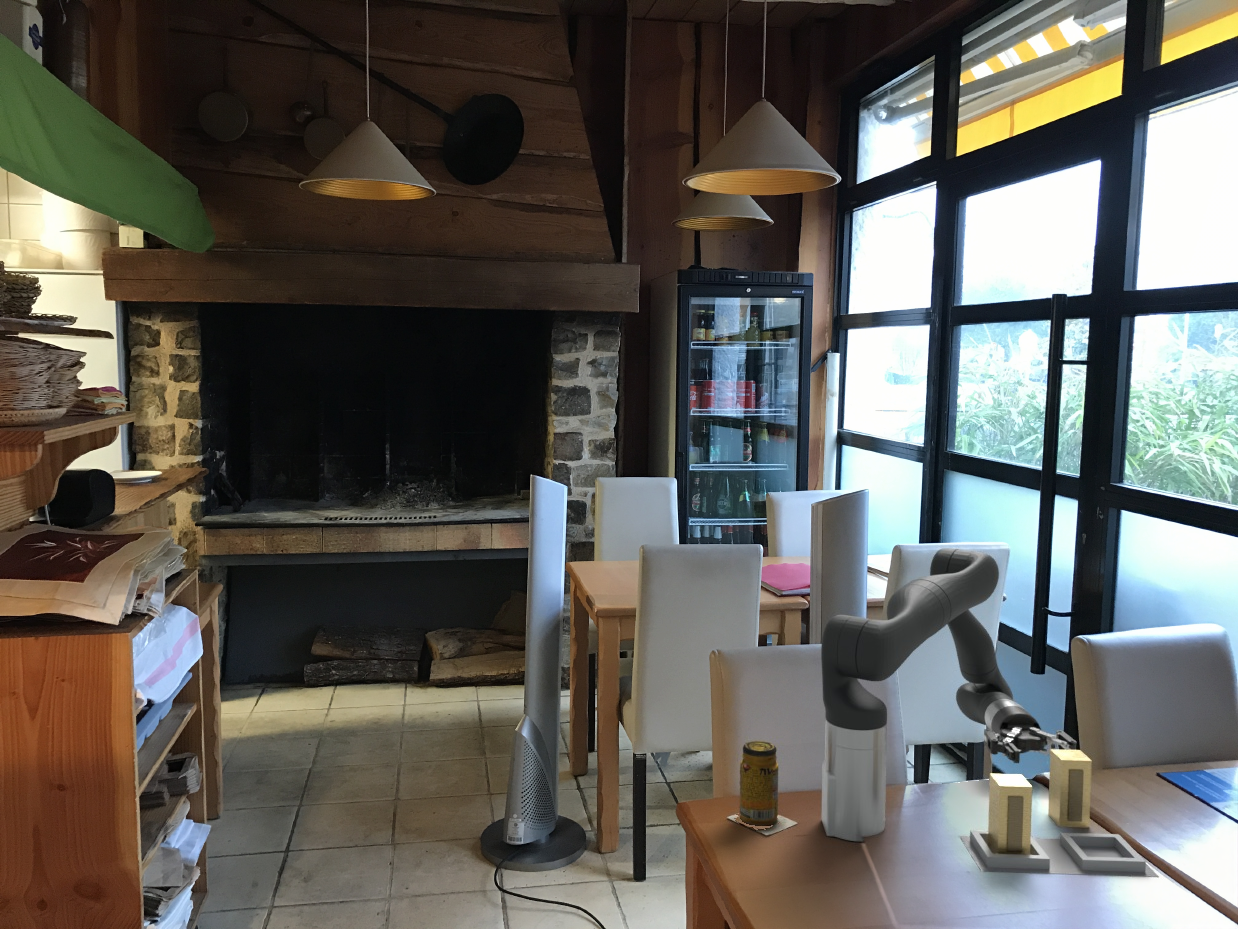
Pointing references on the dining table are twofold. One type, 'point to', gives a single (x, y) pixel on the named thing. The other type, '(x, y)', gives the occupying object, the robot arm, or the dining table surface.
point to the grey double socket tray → (1062, 856)
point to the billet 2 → (1069, 788)
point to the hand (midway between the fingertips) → (1043, 758)
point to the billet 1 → (1009, 814)
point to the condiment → (760, 788)
